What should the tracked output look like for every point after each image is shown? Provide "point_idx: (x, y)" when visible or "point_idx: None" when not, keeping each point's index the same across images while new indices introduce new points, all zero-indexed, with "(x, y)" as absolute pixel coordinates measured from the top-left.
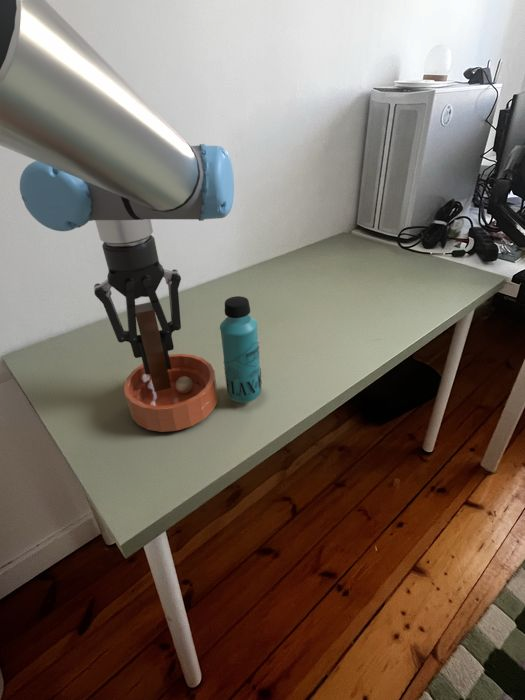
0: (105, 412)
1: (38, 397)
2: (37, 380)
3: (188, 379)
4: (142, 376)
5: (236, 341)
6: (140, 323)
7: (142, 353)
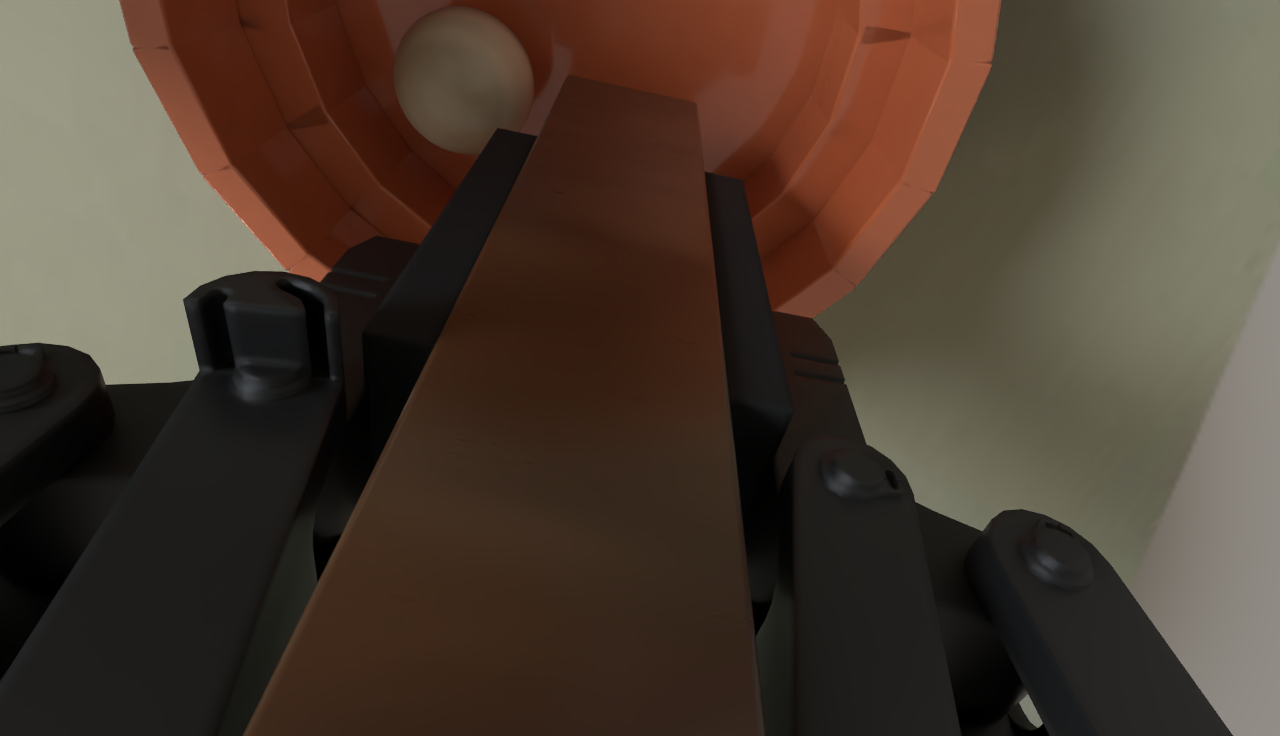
0: (982, 208)
1: (1148, 494)
2: None
3: (409, 72)
4: None
5: None
6: None
7: (749, 300)
